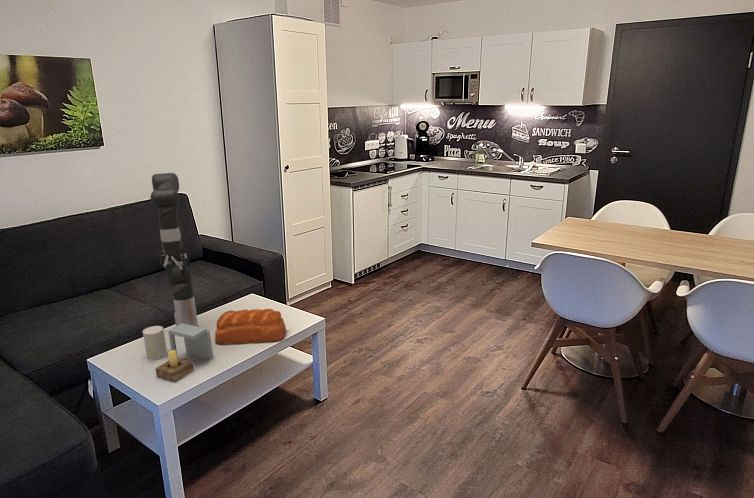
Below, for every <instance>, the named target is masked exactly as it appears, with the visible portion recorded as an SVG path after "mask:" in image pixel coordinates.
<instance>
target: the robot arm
mask: <svg viewBox="0 0 754 498" xmlns="http://www.w3.org/2000/svg"><path fill="white" fill-rule="evenodd" d="M151 184H152V185H151V186H152V191H151V194H150V203H151V205H152V206H153V207H154V208H155V209H157V217H158V224H159V232H160V233H159V234H160V235H159V236H160V240H161V247H162V250H160V251H158V256H159V265H160V266H163V267H164V270H165V271H164V272H165V277H166V280H167V283H168V285H170V286H176V285H182V286H181V287H179V288H177V289H176V290H174V291H173V292H172V298H173V300H172V301H173V305H174V306H173V307H174V311H175V312H173V316H174V322H175V326H177V325H179V324H181V323H183V324H188V325H192V326H197V327H199V323H198V315H197V308H196V301H195V294H194V289H193V276H192V268H191V264H190V257H189V255H188V253H182V249H183V244H182V243H183V242H182V240H183V239H182V238H183V228H182V222H181V219H180V218H179V216H178V211H179V203H180V194H179V190H180V181H179V178H178V175H177V174H176V173H174V172H167V173H164V172H163V173H155V174H152V176H151Z"/></svg>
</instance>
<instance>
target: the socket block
mask: <svg viewBox="0 0 754 498" xmlns="http://www.w3.org/2000/svg"><path fill="white" fill-rule="evenodd" d="M177 360H178V367H176V368H175V369H173V368H170V362H169V360H168V361H165V362H164V363H162V364H159V366H157V367H155V375H156V378H159V379H161V380H165V381H168V382H171V383H172V382H173V383H176V382H178V381H180V380H182V379H183V378H185V377H186V376H187V375H189V374H191V373H193V372H194V371H195V367H194V362H193V361H192V360H188V359H184V358H181V357H178V358H177Z"/></svg>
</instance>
